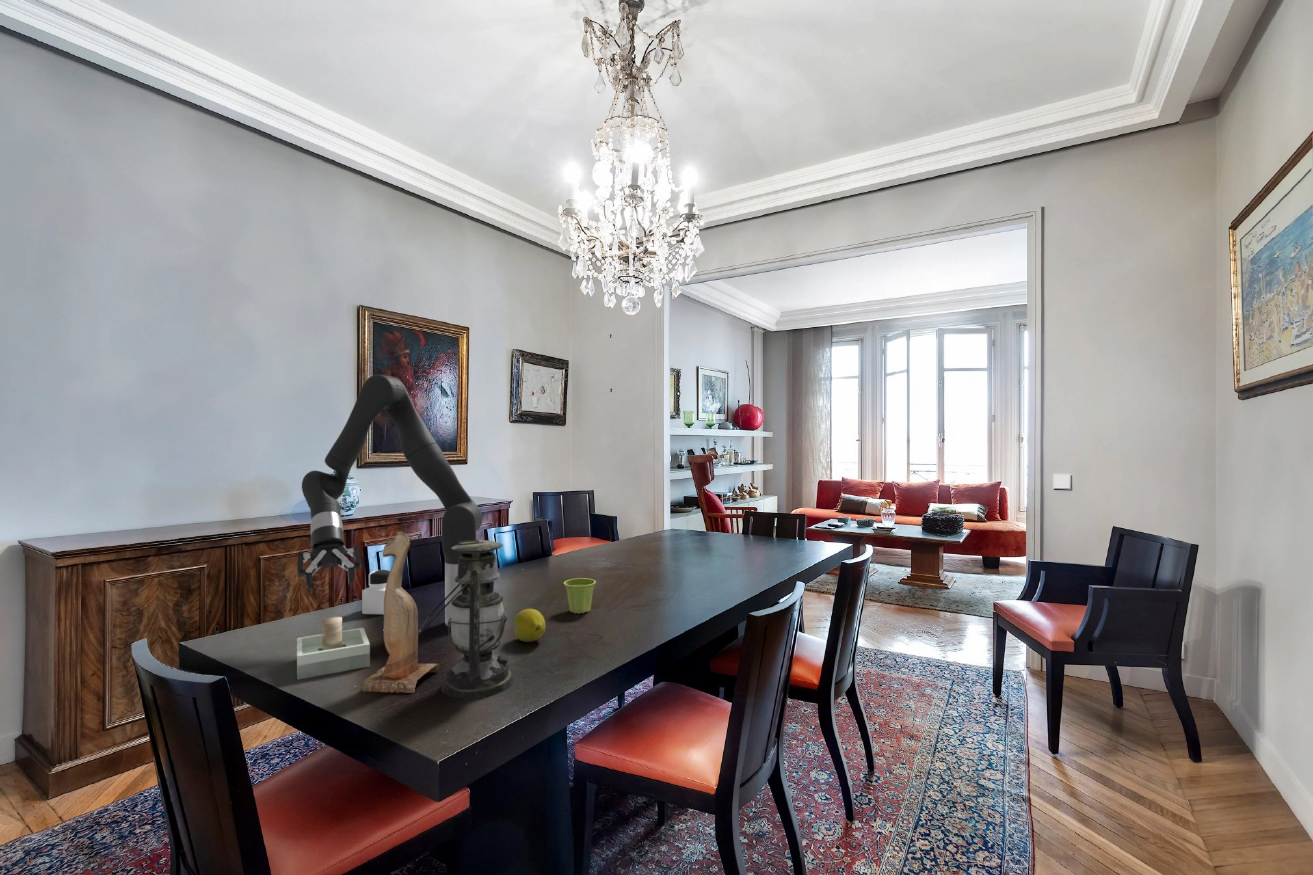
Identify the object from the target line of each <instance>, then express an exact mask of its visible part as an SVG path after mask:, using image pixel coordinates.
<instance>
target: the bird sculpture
mask: <svg viewBox="0 0 1313 875" xmlns="http://www.w3.org/2000/svg"><path fill="white" fill-rule="evenodd" d="M410 541H411V540H410V539H409V537H408V535H407V534H406V533H404V532H402V531H398V532H397V534H395V538H393V540H391V541H389V542H388V543H386V544H385V545H384V547H383V549H382V557H384V558H387V557H394V560H393V562H392V565H391V568H390V570H389V571H390V573H389V576H388V580H387V584H386V589H385V595H384V614H383V643H384V647H385V649H386V652H387V653H388V655H389V656H388V659H387V661H386V663H385V665H384V666H383V667H381V668H380V669H378V670H377V671H376V673H374V674H372V675H370V676H369V677H367V678H365V679H364V681H363V685H362V692H363V693H364V692H369V693H371V692H372V693H378V692H379V693H397V694H398V693H405V694H406V693H407V694H408V693H409V694H410V693H411V694H412V693H415V690H416V689H415V688H416V685H417V682H418V681H419V679H421V678H422V677H423V676H425V674H427V673H429V672H431V671H433V672H435V673H436V671H437V672H438V673H439V672H440V664H439V663H420V662H419V661H418V656H419V655H418V651H419V650H418V649H419V648H418V647H419V644H418V643H419V635H418V630H419V622H418V621H419V620H418V619H419V617H418V615H419V614H418V607H417V604H416V602H415V599H414V598H413V597H412V595H411V594H409V593H408V592H407V591H406V589H404V588H403V587H402V582H403V573H404V572H403V571H404V566H405V564H406V558H407V556H408V555H407V554H408V552H409V549H410V547H411V542H410ZM418 662H419V663H418Z"/></svg>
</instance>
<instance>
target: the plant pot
mask: <svg viewBox="0 0 1313 875" xmlns="http://www.w3.org/2000/svg"><path fill="white" fill-rule="evenodd" d="M596 583H597V582H596V580H594V579H593V578H587V577H586V578H583V577H577V578H572V579H567V580H565V581H564V582H563V584H564V587H565V589H566V590H565V591H566V595H567V600H568V609H569V612H570V613H573V614H576V613H577V614H580V613H582V614H584V613H590V611H591V609H592V608H591V607H592V599H593V592H594V588H595V584H596Z"/></svg>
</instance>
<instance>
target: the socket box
mask: <svg viewBox="0 0 1313 875" xmlns="http://www.w3.org/2000/svg"><path fill="white" fill-rule="evenodd" d="M370 645H371V644H370V640H369V638H368V636H367V633H366V631H365V628H364V627H358V628H353V629H346V630H342V648H336V649H330V650H324V651H322V633H321V634H319V633H318V634H313V635H307V636H302V637H301V636H300V637H296V679H297V680H304V679H308V678H310V679H311V678H314V677H320V676H325V675H331V674H335V673H341V672H346V671H347V672H348V671H351V670H352V671H353V670H356V669H357V670H358V669H364V668H368V667H371V646H370Z"/></svg>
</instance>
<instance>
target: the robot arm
mask: <svg viewBox="0 0 1313 875" xmlns="http://www.w3.org/2000/svg"><path fill="white" fill-rule="evenodd" d="M409 394H410V393H409V392H408V390H407V388H406V386H405V385H404V383H403V382H402V381H401V380H400V379H399V378H397V377H394V376H390V375H384V374H375V375H374V374H373V375H371V376H370V377H368V378H367V379H366V380H365V381H364V383H363V385H362V387H361V389H360V391H359V393H358V396H357V398H356V400H355V403H354V406H353V407H352V410H351V411H350V415H349V417H348V418H347V421H346V423H345V425H344V427H343V429H342V430H341V432H340V434H339V435H338V437H337V439H336V440H335V442H334V443H333V445H332V447H331V448H330V449H329V451H328V453H327V454H326V456H325V458H324V464H325V466H327V467H329V469H331V470H333V471H334V472H335V473H334V474H331V473H327V472H324V471H320V470H311V471H309V472H307V473H306V474H305V475H304V477H303V478H302V481H301V491H302V495H303V497H304V499H305V501H306V503H307V506H308V508H309V510H310V544H311V551H310V552H307V553H304V552H303V551H298V552H297V563H296V566H297V568H296V576H297V577H298V578H301V577H304V578H305V587H306V589H309V591H313V590H314V581H313V580H314V579H313V575H314V574H315V573H316V572H318V570H319V569H320V568H322V569H327V568H329V567H330V568H335V567H337V566H339V567H340V568H342V569H343V570H345V571H346V572H347V580H348V586H352V585H353V583H355V579H356V576H355V575H356V574H355V571H356V570H357V571H359V570H361V569H362V557H361V553H360V547H359V546H358V545H353V548H347V547H346V546H345V536H344V525H343V521H342V516H341V514H342V513H341V506H340V502H339V501H338V499H339V498H340V497H342V496H343V494H344V491H345V488H346V485H347V480H348V478H349V475H350V473H351V472H350V471H351V469H352V467H353V465H354V464H355V462H356V461H357V459H359V456H360V454H361V452H362V451H363V449H364V447H365V444H366V441H367V439H368V438H367V436H368V432H369V430H370V428H371V425H372V423H373V422H374V420H375V418H376V417H377V416H378V414H379V413H380V412H381V411H382V410H384V411H385V413H386V414H387V415H388V417H389V418H390V419H391V421H392V422H393V424H394V426H395V428H396V431H397V434H398V438H399V443H400V444H399V445H400V448H401V452H402V454H403V455H404V458H405V460H406V461H407V463H408V465H409V466H410V468H411V469H412V471H413V472H414V474H415V475H416V476H417V477H418V479H420V481H422V483H423V484H424V485H426V486H427V487H428V488H429V489H430V491H432V493H434V495H436V496H437V498H438V499H439V501H440V502H441V504H442V506H443V507H444V510H445V512H444V513H443V516H442V519H441V520H442V521H441V545H442V552H443V556H444V599H445V598H446V597H447V596H448V595H449V594H450V593H451V592H452V590H453V589H454V588H455V587H456V586H457V585H458V584H459V583H457V582H455V581H454V580H455V577H456V576H457V573H458V559H459V558H460V557H459V556H461V552H458V551H455V550H453V549H452V547H453V546H456V545H458V543H459V542H460V541H468V540H477V531H478V530H479V529H480V528H481V526H482V523H483V513H482V512H481V509H480V508H479V506H478V505H477V503H475V501H474V499H472V498H471V496H470V495H469V493H468V492H467V491H466V490H465V489H464V487H463V485H462V484H461V482H460V481H459V479H458V477H457V475H456V473H455V471H454V470H453V468H452V466H451V464H450V463H449V461H448V460H447V458H446V455H445V454H444V452H443V450H442V448H441V447H440V446H439V444H438V442H437V441H436V439H435V437H434V436H433V435H432V433H431V432H430V430H429V428H428V427H427V425H426V423H425V422H424V421H423V420H422V418H421V416H420V415H419V413H418V412H417V409H416V407H415V405H414V402H413V401H412V399H411V396H410V395H409ZM462 543H463V542H462ZM460 544H461V543H460ZM463 554H465V553H463ZM348 555H350V557H352V558H353V560H354V563H353V562H352V561H350V560H349V558H348V557H347V556H348ZM308 559H310V560H311V561H312V562H311V563H310V565H309V566H308V567H307V568H304V563H306V562H307V561H308ZM460 590H461V584H460V585H459V587H458V588H457V589H456V590H455V591H454V592H453V593H452V594H451V595H450V596H449V597H448V598H447V599H446V600H445V601H444V606H445V605H446V604H447V603H448V602H449V601H450V600H451V599H452V598H453V597H454V596H455V595H456V594H457V593H458V592H459V591H460ZM460 594H462V591H461V592H460V593H459V594H458V595H460ZM458 595H457V596H458ZM457 596H456V597H457ZM456 597H455V598H454V599H456ZM454 599H453V600H454ZM453 600H452V601H453ZM452 601H451V602H450V603H449V604H448V605H447V606H446V607H445V609H444V611H445V612H444V619H445V620H444V621H445V622H444V623H445V626H446V627H448V621H449V619H450V618H451V613H452V609H453V605H452ZM450 621H451V619H450ZM449 628H451V626H450V624H449Z"/></svg>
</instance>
